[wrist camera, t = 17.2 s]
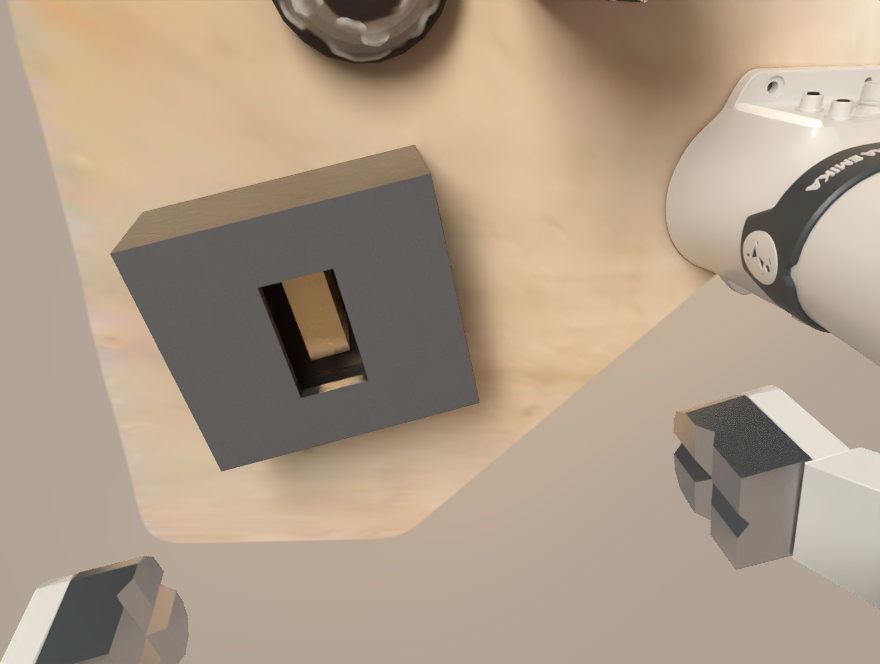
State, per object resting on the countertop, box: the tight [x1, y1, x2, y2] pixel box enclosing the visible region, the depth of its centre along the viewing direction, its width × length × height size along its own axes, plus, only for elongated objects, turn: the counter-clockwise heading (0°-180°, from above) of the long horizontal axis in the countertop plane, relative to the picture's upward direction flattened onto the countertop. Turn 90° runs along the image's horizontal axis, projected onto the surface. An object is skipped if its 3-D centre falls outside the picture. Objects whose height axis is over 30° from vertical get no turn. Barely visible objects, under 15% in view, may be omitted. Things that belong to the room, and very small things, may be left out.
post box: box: [110, 145, 479, 471], centre depth 46 cm, size 20×18×8 cm
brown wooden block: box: [282, 269, 350, 361], centre depth 48 cm, size 3×7×5 cm, turn 13°
